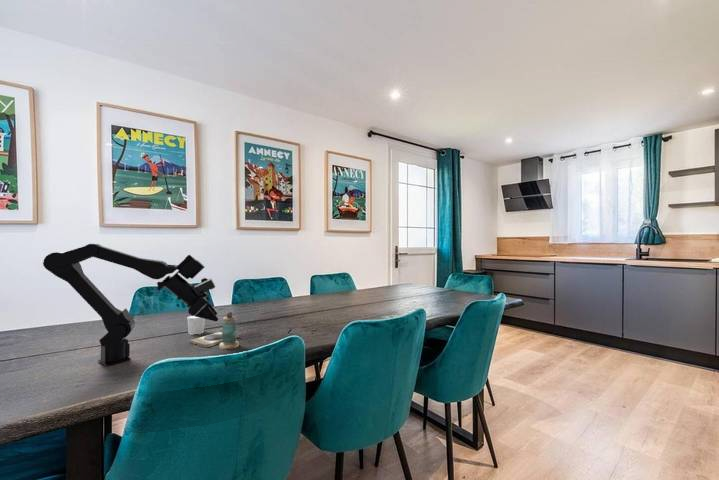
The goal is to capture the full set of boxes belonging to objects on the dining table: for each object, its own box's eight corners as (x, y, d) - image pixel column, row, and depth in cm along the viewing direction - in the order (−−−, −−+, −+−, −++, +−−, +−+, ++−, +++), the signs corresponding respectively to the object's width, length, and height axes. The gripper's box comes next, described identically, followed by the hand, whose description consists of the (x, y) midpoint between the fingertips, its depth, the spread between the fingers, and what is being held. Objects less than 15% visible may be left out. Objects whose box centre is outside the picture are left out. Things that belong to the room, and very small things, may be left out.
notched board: (206, 347, 114) (206, 340, 114) (189, 342, 119) (189, 336, 119) (238, 337, 126) (238, 331, 126) (222, 333, 131) (222, 327, 131)
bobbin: (227, 350, 111) (227, 315, 111) (215, 347, 114) (215, 312, 114) (242, 345, 117) (243, 311, 117) (230, 342, 120) (231, 309, 120)
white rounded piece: (200, 335, 128) (200, 318, 128) (183, 335, 129) (183, 318, 129) (208, 330, 135) (208, 314, 135) (192, 330, 135) (192, 314, 135)
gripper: (199, 274, 103) (236, 304, 108) (200, 269, 120) (232, 296, 125) (171, 300, 99) (210, 330, 104) (176, 291, 116) (209, 318, 121)
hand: (217, 317), depth 114 cm, fingers open, 9 cm apart
